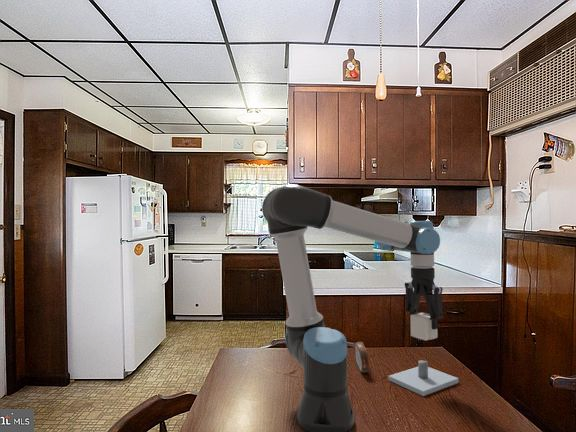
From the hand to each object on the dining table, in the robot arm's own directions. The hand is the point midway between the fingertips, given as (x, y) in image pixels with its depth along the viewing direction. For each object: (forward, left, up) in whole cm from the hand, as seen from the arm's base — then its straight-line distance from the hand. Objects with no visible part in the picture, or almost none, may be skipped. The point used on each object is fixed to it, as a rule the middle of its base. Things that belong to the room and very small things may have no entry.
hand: (423, 335), depth 126 cm
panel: (0, +1, -15) cm, 15 cm away
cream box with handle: (0, 0, 0) cm, 0 cm away
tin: (-9, +21, -16) cm, 27 cm away
